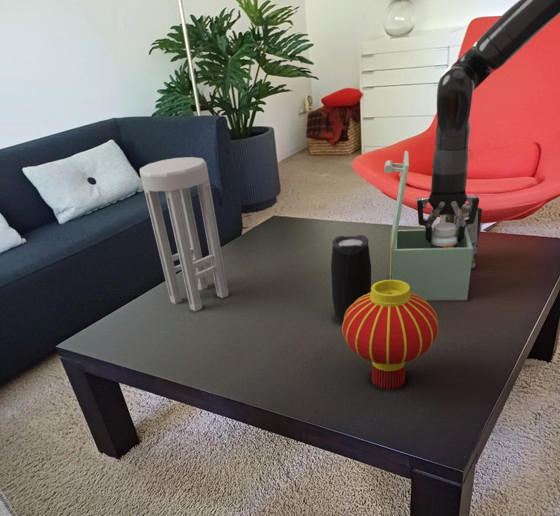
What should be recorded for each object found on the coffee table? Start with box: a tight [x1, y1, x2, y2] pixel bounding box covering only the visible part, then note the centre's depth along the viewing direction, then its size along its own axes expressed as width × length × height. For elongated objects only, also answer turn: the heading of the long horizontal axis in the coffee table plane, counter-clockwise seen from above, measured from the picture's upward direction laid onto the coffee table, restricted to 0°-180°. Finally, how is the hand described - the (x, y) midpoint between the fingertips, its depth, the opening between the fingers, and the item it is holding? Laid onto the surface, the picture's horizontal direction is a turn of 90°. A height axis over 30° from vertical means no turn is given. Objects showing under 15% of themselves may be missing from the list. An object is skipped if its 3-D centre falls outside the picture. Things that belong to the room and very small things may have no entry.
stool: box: [139, 156, 230, 312], centre depth 132 cm, size 16×16×35 cm
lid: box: [383, 150, 410, 250], centre depth 122 cm, size 19×14×5 cm
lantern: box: [341, 231, 439, 390], centre depth 94 cm, size 17×17×30 cm
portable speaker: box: [330, 234, 372, 325], centre depth 119 cm, size 9×9×20 cm
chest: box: [391, 228, 473, 301], centre depth 130 cm, size 18×14×13 cm
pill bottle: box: [430, 222, 458, 248], centre depth 127 cm, size 6×6×11 cm
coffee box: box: [439, 202, 483, 269], centre depth 139 cm, size 9×6×16 cm
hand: (444, 241), depth 126 cm, fingers closed on pill bottle, 6 cm apart
